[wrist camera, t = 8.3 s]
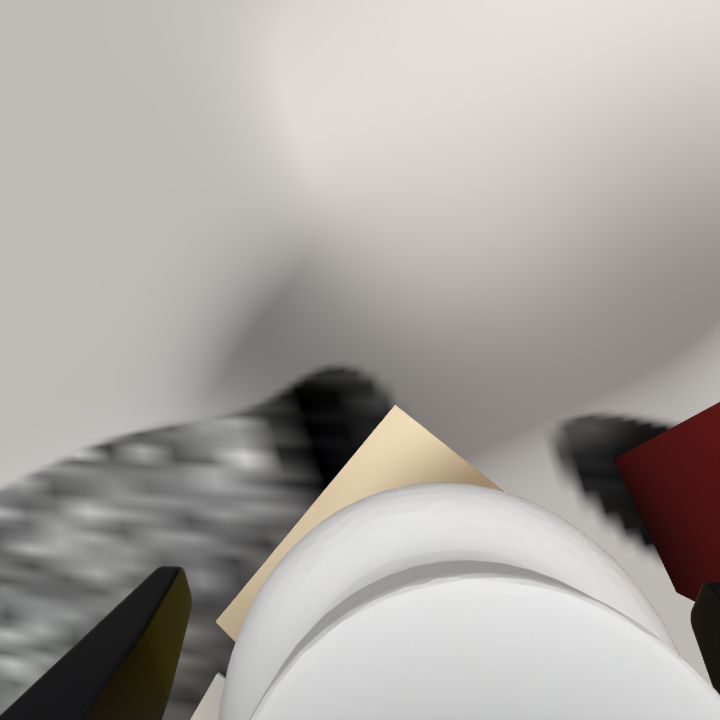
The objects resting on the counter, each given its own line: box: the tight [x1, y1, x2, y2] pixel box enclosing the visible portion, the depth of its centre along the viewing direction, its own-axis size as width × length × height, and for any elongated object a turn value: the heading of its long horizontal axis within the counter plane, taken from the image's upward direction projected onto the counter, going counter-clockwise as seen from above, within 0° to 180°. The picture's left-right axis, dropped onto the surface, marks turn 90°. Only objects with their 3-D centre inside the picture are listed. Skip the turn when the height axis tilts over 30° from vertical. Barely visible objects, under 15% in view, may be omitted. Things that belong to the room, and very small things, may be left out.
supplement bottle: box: [219, 482, 720, 720], centre depth 10 cm, size 7×7×13 cm
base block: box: [216, 405, 504, 642], centre depth 17 cm, size 9×9×2 cm
